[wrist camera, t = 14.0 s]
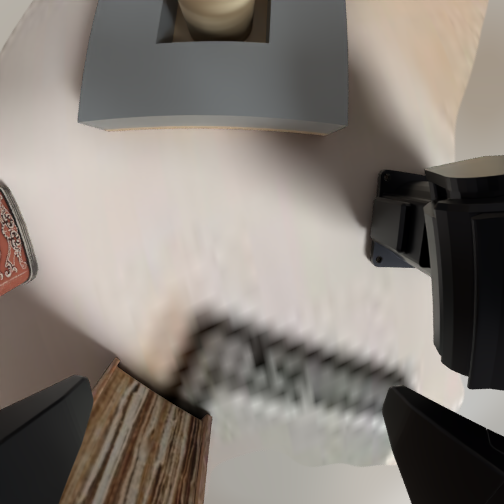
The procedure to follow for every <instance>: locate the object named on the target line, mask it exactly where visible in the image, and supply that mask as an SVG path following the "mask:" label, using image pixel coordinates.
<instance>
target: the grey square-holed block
mask: <svg viewBox="0 0 504 504" xmlns="http://www.w3.org/2000/svg"><path fill="white" fill-rule="evenodd" d="M78 123H81V124H84V125H88V126H92V127H95V128H98V129H102V130H105V131H109V132H111V131H125V130H144V129H177V128H211V129H245V130H264V131H279V132H292V133H303V134H313V135H322V136H326V135H328V134H331V133H333V132H335V131H337V130H339V129H342V128H344V127H346V126H348V40H347V18H346V2H345V0H255V5H254V16H253V26H252V31H251V33H250V35H249V36H248V38H247V39H246V40H245V41H244V42H235V41H198V42H195V41H194V40H193V39H192V37H191V35H190V33H189V30H188V27H187V24H186V21H185V19H184V16H183V13H182V10H181V7H180V5H179V2H178V0H99V1H98V5H97V9H96V13H95V17H94V21H93V25H92V30H91V34H90V39H89V44H88V49H87V54H86V60H85V66H84V72H83V79H82V86H81V94H80V102H79V112H78Z"/></svg>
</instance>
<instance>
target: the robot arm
mask: <svg viewBox="0 0 504 504" xmlns="http://www.w3.org/2000/svg"><path fill="white" fill-rule="evenodd" d="M424 170H425V175H426V176H423V175H417V174H411V173H405V172H399V171H392V170H382V171H381V172H380V173H379V176H378V189H377V198H376V199H375V200H374V204H373V215H372V225H371V234H370V237H371V238H372V239H373V241H372V249H371V257H370V260H371V263H372V264H373V265H375V266H377V267H402V268H417V269H419V270H420V271H422V272H424V273H425V274H427V275H429V276H430V277H431V279H432V296H433V328H434V345H435V347H436V349H437V351H438V353H439V354H440V355H441V362H442V363H443V364H444V365H446V366H447V367H448V368H450V369H451V370H453V371H455V372H458V373H460V374H462V375H465V376H468V377H469V378H468V385H467V387H468V388H469V389H497V390H504V155H501V156H500V155H498V156H483V157H478V158H473V159H468V160H464V161H459V162H454V163H449V164H445V165H440V166H436V167H431V168H427V169H424ZM385 174H387V175H388V180H387V181H386V180H385V179H384V176H385ZM378 256H380V260H379V261H378V262H376V258H377V257H378ZM93 402H94V400H93V395H92V391H91V387H90V384H89V380H88V378H87V377H85V376H80V375H73V376H71V377H69V378H67V379H65V380H63V381H61V382H59V383H56V384H54V385H52V386H50V387H48V388H46V389H44V390H42V391H40V392H38V393H35V394H33V395H31V396H29V397H27V398H25V399H23V400H21V401H18V402H16V403H14V404H12V405H10V406H8V407H5V408H3V409H1V410H0V504H59V502H60V499H61V496H62V494H63V491H64V488H65V486H66V483H67V480H68V478H69V475H70V472H71V470H72V467H73V465H74V462H75V460H76V457H77V455H78V452H79V450H80V447H81V445H82V442H83V438H84V435H85V431H86V428H87V424H88V421H89V417H90V414H91V411H92V407H93ZM382 413H383V417H384V421H385V425H386V428H387V432H388V436H389V440H390V444H391V448H392V451H393V454H394V457H395V460H396V462H397V465H398V467H399V470H400V473H401V476H402V478H403V481H404V484H405V486H406V489H407V492H408V495H409V498H410V500H411V503H412V504H504V436H502V435H499V434H497V433H495V432H493V431H491V430H489V429H487V430H486V428H485V427H483V426H481V425H479V424H477V423H475V422H473V421H471V420H469V419H467V418H465V417H462V416H461V415H459V414H457V413H455V412H453V411H451V410H449V409H447V408H445V407H443V406H441V405H439V404H438V403H436V402H434V401H432V400H430V399H428V398H426V397H424V396H422V395H420V394H419V393H417V392H415V391H413V390H411V389H409V388H407V387H405V386H404V385H397V386H392V387H390V388H389V390H388V393H387V396H386V398H385V401H384V404H383V408H382Z"/></svg>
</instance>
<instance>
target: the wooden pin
mask: <svg viewBox="0 0 504 504" xmlns="http://www.w3.org/2000/svg"><path fill="white" fill-rule="evenodd" d="M178 2H179V5H180V7H181V10H182V13H183V16H184V19H185V21H186V24H187V27H188V30H189V33H190V35H191V37H192V39H193V40H194V41H195V42H198V41H235V42H244V41H245V40H246V39H247V38H248V36H249V35H250V33H251V31H252V26H253V16H254V5H255V0H178Z"/></svg>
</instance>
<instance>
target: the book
mask: <svg viewBox="0 0 504 504" xmlns="http://www.w3.org/2000/svg"><path fill="white" fill-rule="evenodd" d="M119 362H120V360H119V359H117V358H115V359H114V360H113V361H112V363H111V364H110V365H109V367H108V368H107V370H106V371H105V373H104V374H103V375H102V377H101V378H100V380H99V381H98V383H97V384H96V386H95V387H94V388H93V390H92V395H93V400H94V402H93V407H92V411H91V414H90V417H89V421H88V424H87V428H86V431H85V435H84V438H83V442H82V445H81V447H80V450H79V452H78V455H77V457H76V460H75V462H74V465H73V467H72V470H71V472H70V475H69V478H68V480H67V483H66V486H65V488H64V491H63V494H62V496H61V499H60V502H59V504H203V503H204V493H205V482H206V472H207V462H208V453H209V443H210V434H211V424H212V417H211V416H209V415H208V414H207V415H205V416H204V417H203V418H202V419H201V420H199V419H198V418H196V417H194V416H192V415H191V414H189V413H187V412H186V411H184V410H182V409H181V408H179V407H177V406H176V405H174V404H172V403H171V402H169V401H167V400H166V399H164V398H163V397H161V396H160V395H158V394H156V393H155V392H153V391H152V390H150V389H149V388H147V387H146V386H144V385H143V384H141V383H140V382H138V381H137V380H135V379H134V378H133V377H131V376H130V375H128V374H127V373H125V372H124V371H123V370H121V369H120V368H118V367H117V365H118V363H119Z"/></svg>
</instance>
